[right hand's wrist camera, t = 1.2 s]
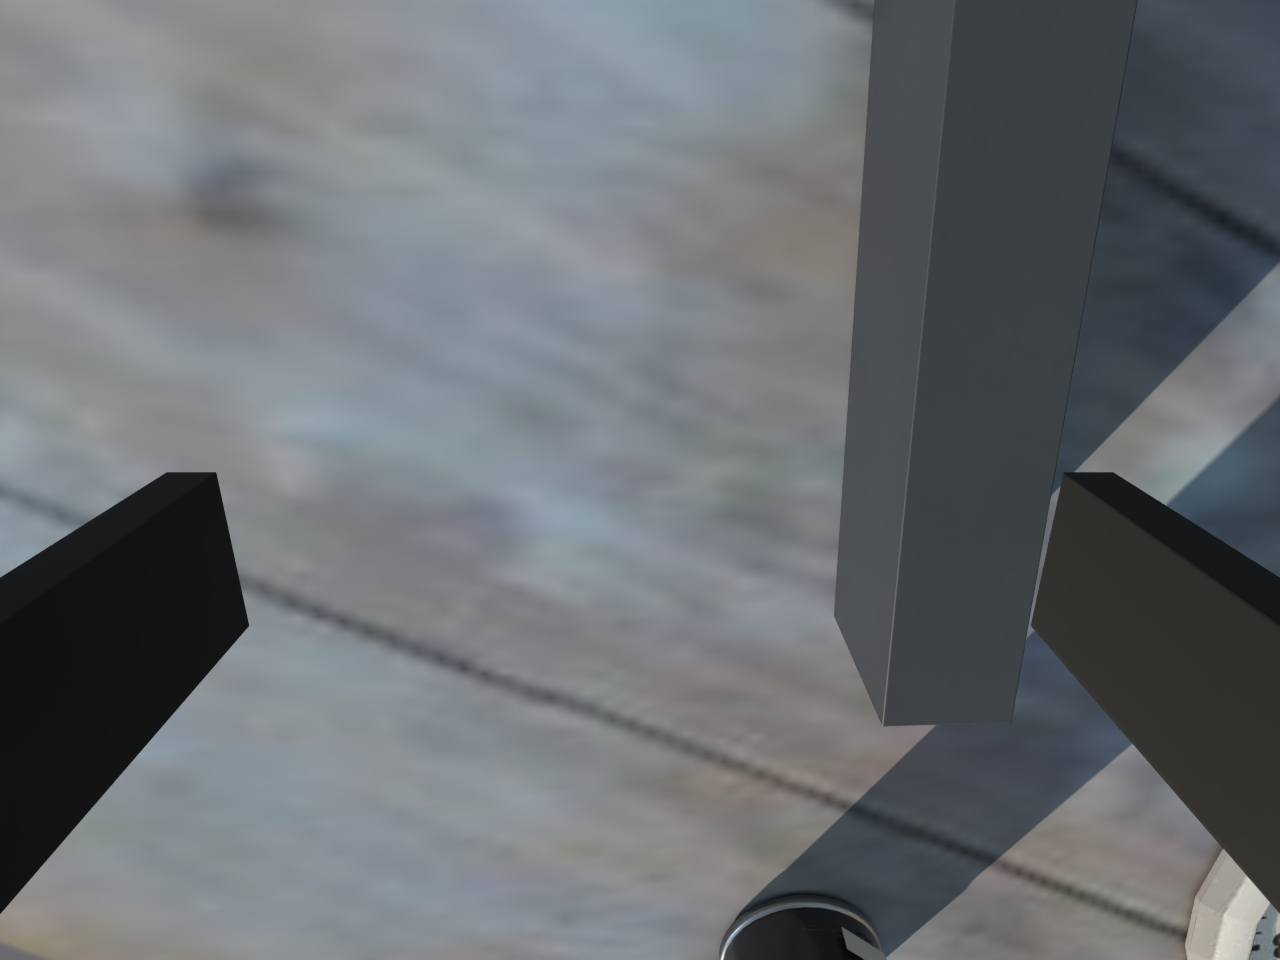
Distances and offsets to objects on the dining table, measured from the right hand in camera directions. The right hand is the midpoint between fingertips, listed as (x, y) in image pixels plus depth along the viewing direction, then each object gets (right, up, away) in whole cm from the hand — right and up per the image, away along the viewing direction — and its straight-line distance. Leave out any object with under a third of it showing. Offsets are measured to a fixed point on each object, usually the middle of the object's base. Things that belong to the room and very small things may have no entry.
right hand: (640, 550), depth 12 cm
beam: (+11, +8, +20) cm, 24 cm away
